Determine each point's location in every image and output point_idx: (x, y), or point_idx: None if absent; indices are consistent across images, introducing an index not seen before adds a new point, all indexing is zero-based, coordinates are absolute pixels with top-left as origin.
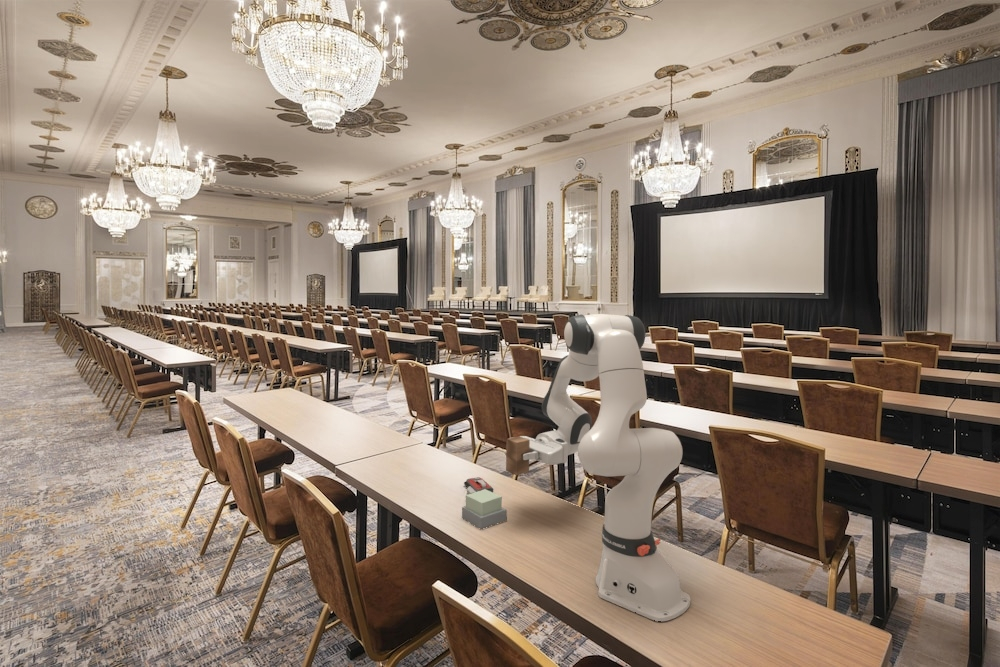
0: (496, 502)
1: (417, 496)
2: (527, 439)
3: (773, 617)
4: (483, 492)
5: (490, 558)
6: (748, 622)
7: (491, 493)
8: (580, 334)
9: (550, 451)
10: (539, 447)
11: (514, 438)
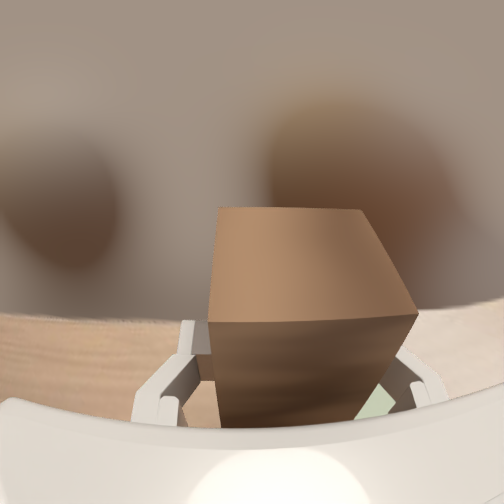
0: None
1: (492, 338)
2: (242, 315)
3: None
4: (384, 394)
5: (163, 326)
6: None
7: (364, 411)
8: None
9: (5, 440)
10: (163, 487)
11: (352, 248)
